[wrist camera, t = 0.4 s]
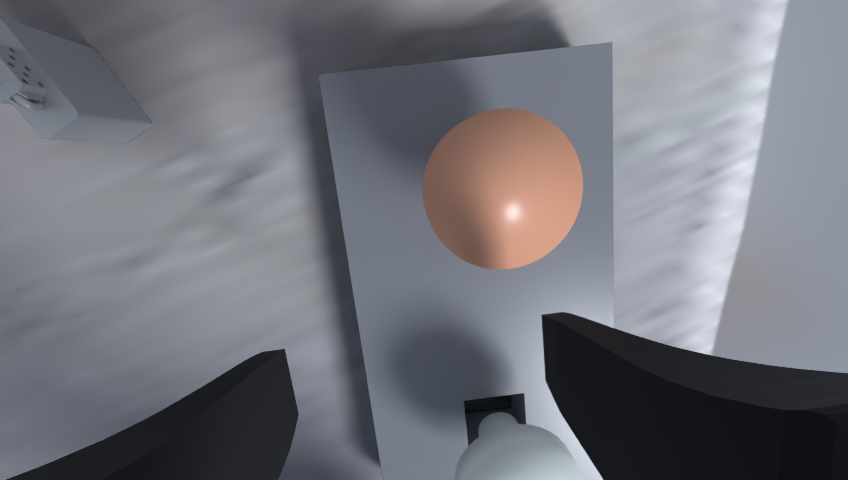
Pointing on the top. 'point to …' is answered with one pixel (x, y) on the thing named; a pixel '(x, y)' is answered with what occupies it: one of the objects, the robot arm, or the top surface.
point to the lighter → (65, 88)
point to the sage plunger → (515, 453)
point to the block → (448, 274)
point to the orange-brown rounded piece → (502, 188)
